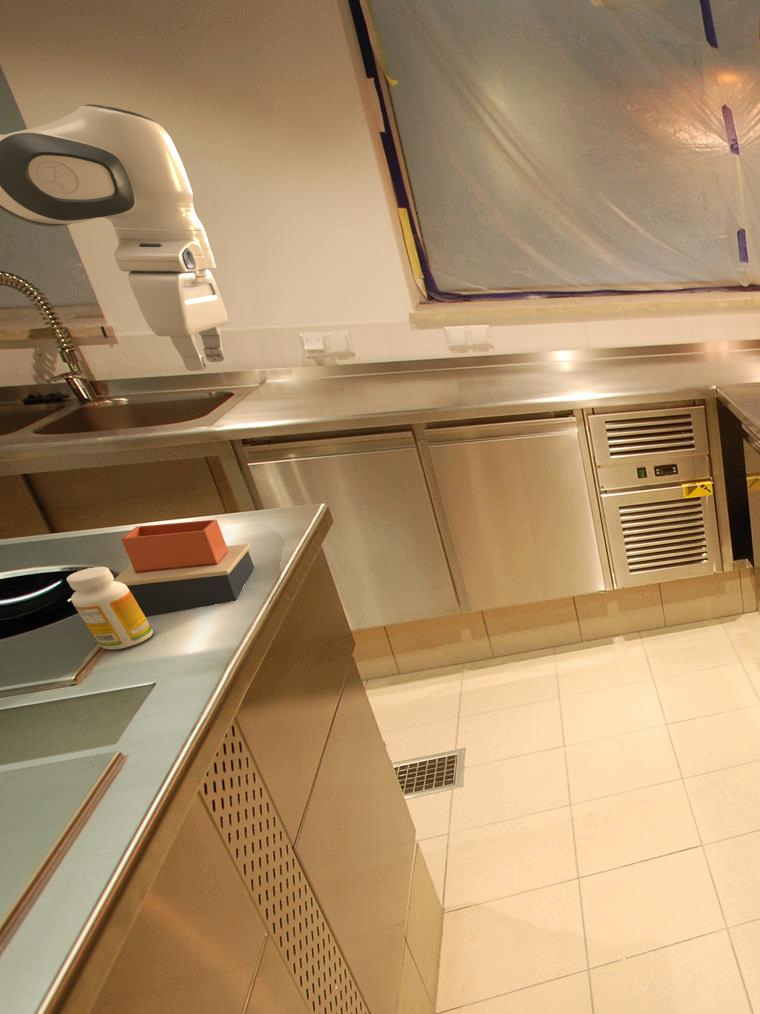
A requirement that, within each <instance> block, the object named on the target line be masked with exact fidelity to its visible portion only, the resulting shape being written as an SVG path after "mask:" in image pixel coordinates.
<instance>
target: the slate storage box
mask: <svg viewBox="0 0 760 1014" xmlns="http://www.w3.org/2000/svg"><path fill="white" fill-rule="evenodd" d="M226 546H227V549H228V553H227V554H226V555H225V557H224V558H223V559H222V560H221V561H220V562H219V563H218V565H211V566H201V567H192V568H182V569H173V570H163V571H154V572H144V573H135V571H134V568H133V566H132V564H131V563H130V565H128V567H126V568H125V569H124V570H123V571H122V572H120V574H119V575H117V576H116V577H115V578H114V580H113V581H116V582H121V583H123V584H125V585H126V586H127V587H128V589H129V590H130V592H131V594H132V595H133V597H134V598H135V600H136V602H137V604H138V605H139V607H140V609H141V610H142V612H143V614H144V616H145V617H146V618H149V617H155V616H159V615H160V616H161V615H166V614H172V613H176V612H177V613H178V612H183V611H189V610H194V609H199V608H200V607H201V608H206V607H211V605H212V606H216V605H215V604H218V605H223V604H229V603H232V602H231V601H235V602H237V601H238V599H239V597H240V595H241V594H240V592H241V590H242V588H243V586H244V584H245V583H246V584H247V582H248V581H249V578H250V576H251V574H252V573H253V570H254V568H255V565H254V562H253V560H252V557H251V554H250V549H251V545H250V544H249V543H245V544H244V543H243V544H235V545H234V544H233V545H226ZM246 581H247V582H246ZM246 584H245V585H246ZM244 587H245V586H244ZM243 589H244V588H243ZM242 591H243V590H242ZM241 593H242V592H241ZM239 594H240V595H239ZM238 596H239V597H238ZM237 598H238V599H237ZM236 600H237V601H236ZM228 602H229V603H228ZM201 608H200V609H201Z"/></svg>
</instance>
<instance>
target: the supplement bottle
mask: <svg viewBox="0 0 760 1014" xmlns="http://www.w3.org/2000/svg"><path fill="white" fill-rule="evenodd" d="M114 579H115V578H114V575H113V573H112V572H111V570H110V569H109V568H108V567H106V566H94V567H90V568H89V567H88V568H84V569H81V570H78V571H75V572H73V573H71V574H70V575H68V576H67V577H66V582H67V583H68V585H69V587H70V588H71V590H73V591H74V592H73V594H72V595H71V597H70V601H71V603H72V605H73V607H74V608H75V609H76V611H77V612H78V614H79V616H80V618H81V619H82V621H83V623H85V625H86V626H87V628H88V629H89V631H90V633H91V635H92V636H93V637H94V639H95V640H96V642H97V644H98V645H99V647H100V648H102V649H104V650H105V649H106V650H121V649H125V648H130V647H133V646H135V645H138V644H140V643H142V642H144V641H146V640H148V639H149V638H151V636H152V635H153V633H154V630H153V628H152V625H151V623H150V622H149V620H148V619H147V617H145V616H144V614H143V612H142V610H141V609H140V607H139V605H138V604H137V602H136V600H135V598H134V597H133V595H132V594H131V592H130V590H129V589H128V587H127V586H126V585H125V584H123V583H121V582H116V581H113V580H114Z"/></svg>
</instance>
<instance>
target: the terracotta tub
mask: <svg viewBox="0 0 760 1014" xmlns="http://www.w3.org/2000/svg"><path fill="white" fill-rule="evenodd" d="M120 540H121V542H122V545H123V547H124V550H125V552H126V554H127V556H128V559H129V561H130V565H131V564H132V566H133V568H134V571H135V573H144V572H154V571H163V570H173V569H182V568H192V567H201V566H211V565H218V563H219V562H220V561H221V560H222V559H223V558H224V557H225V555H226V554H227V553H228V549H227V546H228V545H227V544H226V541H225V538H224V535H223V533H222V530H221V527H220V525H219V522H218V519H207V520H206V519H205V520H196V521H193V520H192V521H183V522H172V523H162V524H161V523H160V524H148V525H137V526H135V527H134V528H133V529H131V531H129V532H128V533H126V534H124V536H123V537H121V539H120Z"/></svg>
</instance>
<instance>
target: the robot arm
mask: <svg viewBox="0 0 760 1014" xmlns="http://www.w3.org/2000/svg"><path fill="white" fill-rule="evenodd" d="M0 211H2V212H3V213H5V214H7V215H9V216H11V217H13V218H15V219H17V220H19V221H22V222H25V223H27V224H31V225H35V226H40V227H47V228H49V227H50V228H54V227H55V228H57V227H64V226H69V225H72V224H73V225H74V224H80V223H85V222H89V221H91V220H94V219H97V218H98V219H99V218H104V219H106V220H109V222H110V223H111V224H112V226H113V229H114V232H115V235H116V237H117V247H116V249H115V251H114V253H113V255H114V260H115V262H116V265H117V267H118V269H119V270H120V271H121V272H128V275H127V278H128V283H129V285H130V289H131V290H132V293H133V296H134V298H135V300H136V303H137V304H138V308H139V309H140V312H141V314H142V315H143V318H144V320H145V322H146V324H147V326H148V328H150V330H151V332H153V333H154V335H155V336H156V337H170V340H171V343H172V345H173V346H174V348H175V350H176V351H177V352H178V354H179V355H180V357H181V359H182V361H183V364H184V367H185V369H186V370H187V371H189V372H194V371H195V372H197V371H198V372H199V371H203V370H204V369H206V367H207V365H206V363H205V359H206V360H207V362H209V363H220V362H223V361H225V359H226V357H225V353H224V350H223V344H222V343H223V342H222V333H221V330H220V328H219V327H221V326H224V325H227V324H228V323H229V317H228V312H227V308H226V306H225V303H224V301H223V297H222V295H221V293H220V289H219V288H218V285H217V282H216V280H215V277H214V275H213V274H212V272H211V270H217V269H218V267H217V264H216V261H215V257H214V254H213V251H212V248H211V245H210V242H209V238H208V235H207V233H206V230H205V227H204V225H203V223H202V222H201V220H200V219H199V217H198V216H197V213H196V211H195V207H194V193H193V189H192V186H191V183H190V180H189V177H188V175H187V172H186V169H185V166H184V164H183V162H182V159H181V157H180V154H179V152H178V150H177V148H176V146H175V144H174V142H173V140H172V138H171V137H170V135H169V134H168V132H167V130H166V129H165V128H164V127H163V126H162V125H160V124H159V123H158V122H156V121H155V120H154V119H152V118H150V117H149V116H148V117H147V116H145V115H143V114H140V113H137V112H134V111H131V110H126V109H122V108H118V107H114V106H105V105H102V104H89V103H88V104H81V105H79V107H78V108H77V109H76V110H74V111H72V112H71V113H69V114H67V115H66V116H63V117H61V118H59V119H56V120H53V121H51V122H48V123H45V124H42V125H39V126H35V127H31V128H27V129H23V130H17V131H13V132H9V133H0ZM195 334H198V335H199V336H200V337H201V341H202V345H203V349H202V350H203V353H204V355H205V359H204V356H203V355H201V353H200V351H199V349H198V346H197V344H196V343H197V340H196V336H195Z"/></svg>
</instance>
